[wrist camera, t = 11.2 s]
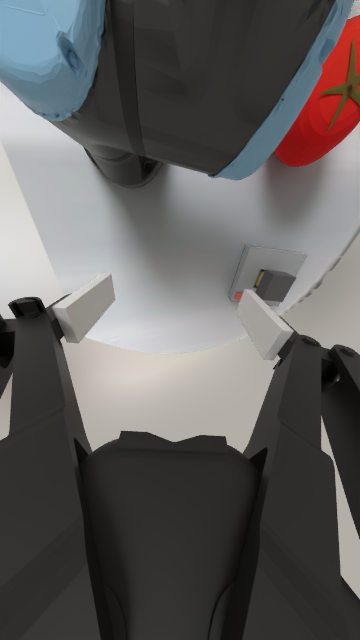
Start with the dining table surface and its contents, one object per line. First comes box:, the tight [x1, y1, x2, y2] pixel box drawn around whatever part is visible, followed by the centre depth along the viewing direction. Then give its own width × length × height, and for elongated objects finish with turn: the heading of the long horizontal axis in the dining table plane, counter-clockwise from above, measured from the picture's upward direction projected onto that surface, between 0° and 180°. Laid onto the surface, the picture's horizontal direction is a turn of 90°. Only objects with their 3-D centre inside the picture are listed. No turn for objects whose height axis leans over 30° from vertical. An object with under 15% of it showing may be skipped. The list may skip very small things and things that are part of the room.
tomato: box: [274, 15, 360, 167], centre depth 21 cm, size 12×12×10 cm
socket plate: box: [228, 245, 307, 306], centre depth 39 cm, size 14×14×4 cm
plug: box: [255, 270, 296, 302], centre depth 37 cm, size 6×5×9 cm
